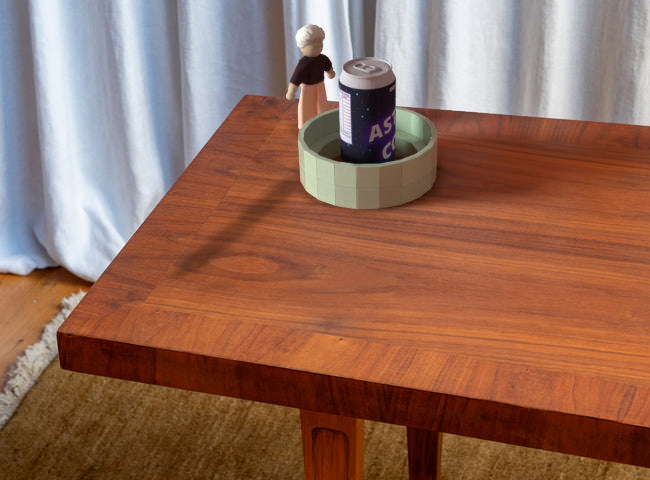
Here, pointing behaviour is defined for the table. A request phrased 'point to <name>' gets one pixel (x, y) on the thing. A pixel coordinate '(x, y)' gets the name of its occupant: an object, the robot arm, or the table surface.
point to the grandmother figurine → (310, 74)
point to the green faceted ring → (368, 179)
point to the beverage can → (367, 111)
